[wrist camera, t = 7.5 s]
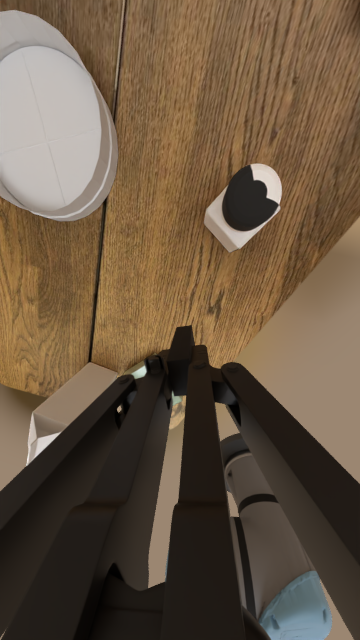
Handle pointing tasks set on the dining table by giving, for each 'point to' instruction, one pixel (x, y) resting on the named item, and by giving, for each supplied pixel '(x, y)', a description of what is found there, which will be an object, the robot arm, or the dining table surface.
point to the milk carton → (66, 406)
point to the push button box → (140, 372)
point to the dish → (51, 124)
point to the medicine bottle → (244, 206)
